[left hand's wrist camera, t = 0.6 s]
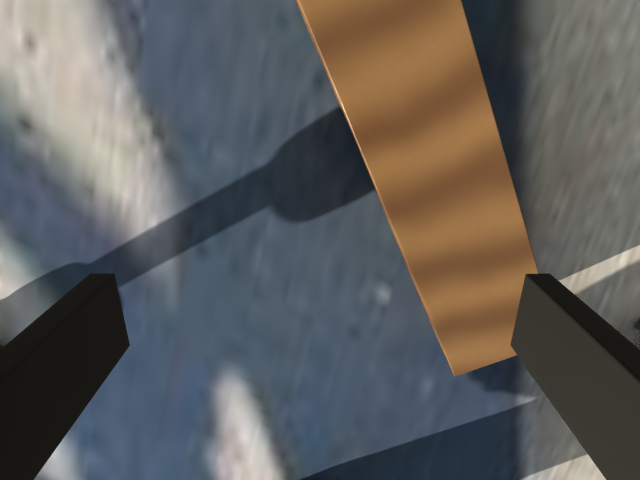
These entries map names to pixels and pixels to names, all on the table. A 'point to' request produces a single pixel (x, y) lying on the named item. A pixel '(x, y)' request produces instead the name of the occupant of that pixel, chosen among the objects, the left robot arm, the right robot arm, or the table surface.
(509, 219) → the wide beam
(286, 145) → the table surface
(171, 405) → the table surface
